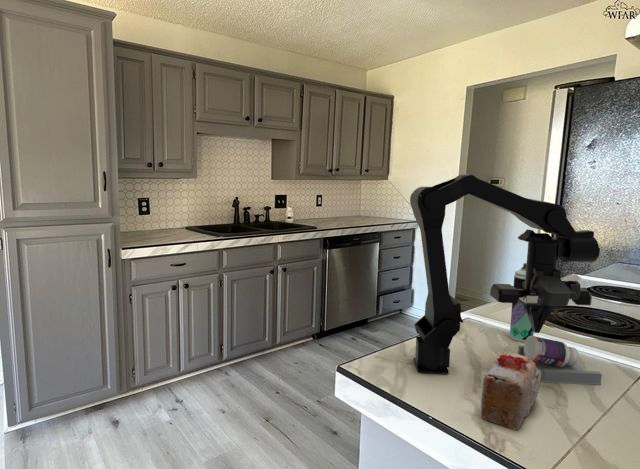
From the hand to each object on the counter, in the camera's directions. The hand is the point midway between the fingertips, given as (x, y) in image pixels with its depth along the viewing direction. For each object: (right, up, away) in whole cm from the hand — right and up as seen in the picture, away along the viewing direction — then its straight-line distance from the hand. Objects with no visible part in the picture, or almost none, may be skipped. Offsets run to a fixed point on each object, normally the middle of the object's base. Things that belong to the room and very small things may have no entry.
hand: (536, 332), depth 87 cm
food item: (-13, -10, -15) cm, 22 cm away
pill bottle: (-1, -4, +2) cm, 4 cm away
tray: (+5, -8, +1) cm, 9 cm away
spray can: (+6, -6, +18) cm, 19 cm away
